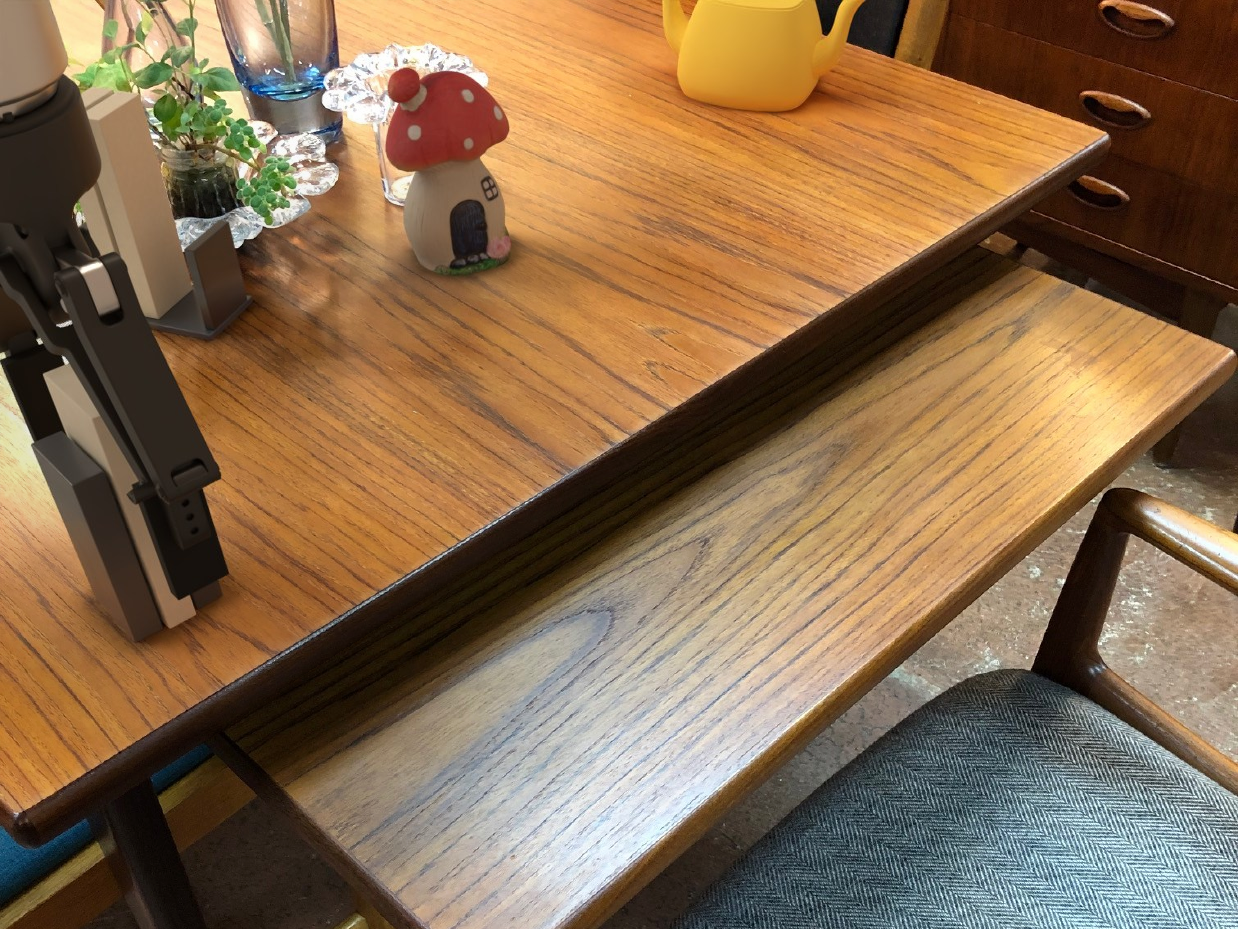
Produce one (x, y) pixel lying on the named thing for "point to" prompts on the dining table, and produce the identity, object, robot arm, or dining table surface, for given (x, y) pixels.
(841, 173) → the dining table surface
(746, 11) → the teapot
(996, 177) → the dining table surface
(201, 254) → the book rack
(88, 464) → the pair of brown blocks
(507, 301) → the dining table surface
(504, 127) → the decorative ornament
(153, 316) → the shelved white books
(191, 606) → the white book
